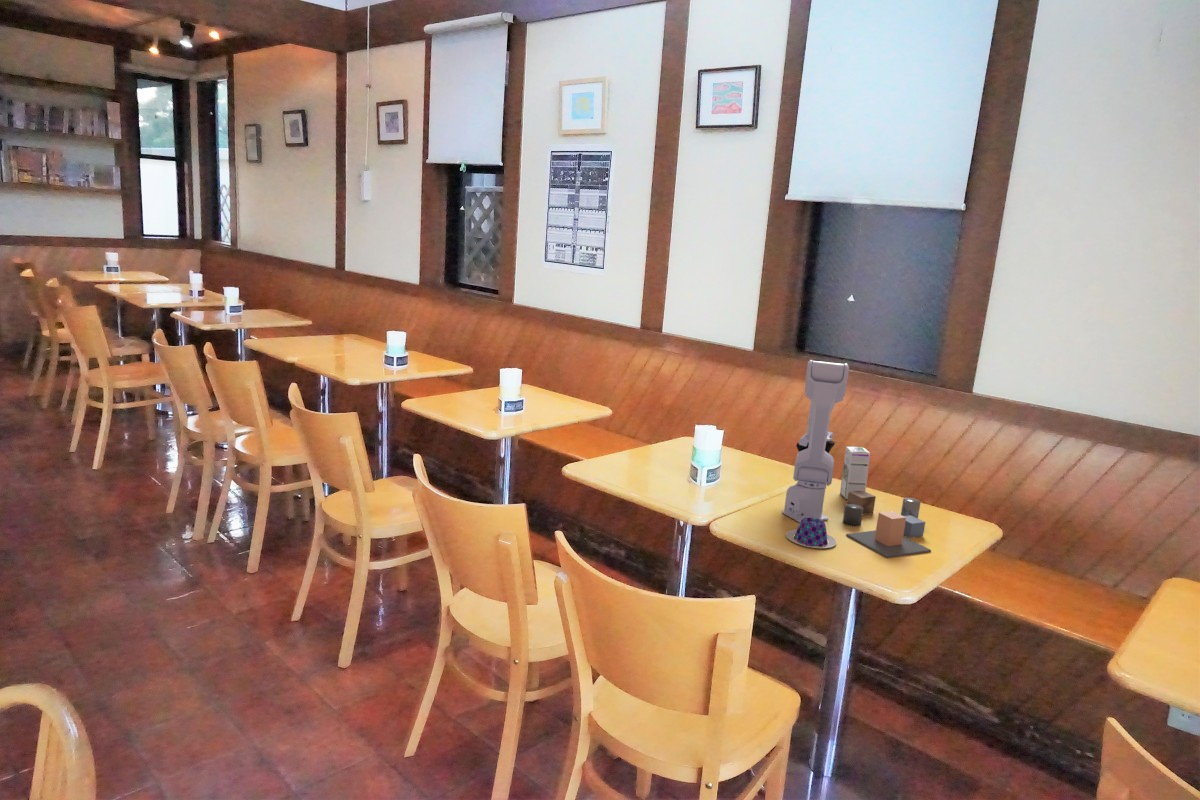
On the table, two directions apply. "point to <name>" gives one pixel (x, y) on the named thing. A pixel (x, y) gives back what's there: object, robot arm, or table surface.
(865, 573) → the table surface
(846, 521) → the charcoal cylinder
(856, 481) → the syrup box
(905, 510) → the dark steel can
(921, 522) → the slate blue block
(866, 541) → the charcoal mat
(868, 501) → the walnut block
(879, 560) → the table surface
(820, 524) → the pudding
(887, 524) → the terracotta block
